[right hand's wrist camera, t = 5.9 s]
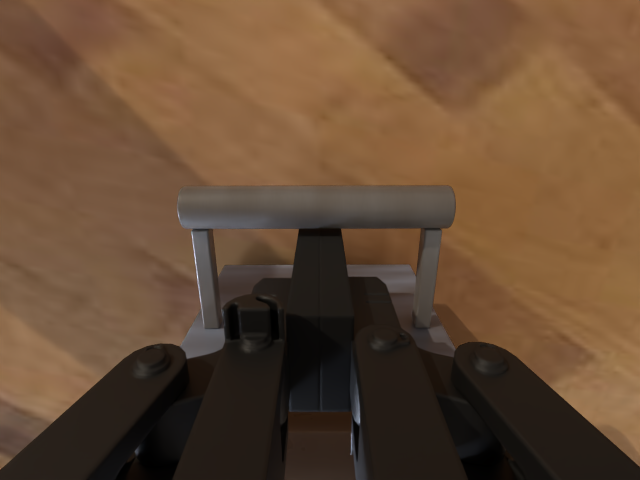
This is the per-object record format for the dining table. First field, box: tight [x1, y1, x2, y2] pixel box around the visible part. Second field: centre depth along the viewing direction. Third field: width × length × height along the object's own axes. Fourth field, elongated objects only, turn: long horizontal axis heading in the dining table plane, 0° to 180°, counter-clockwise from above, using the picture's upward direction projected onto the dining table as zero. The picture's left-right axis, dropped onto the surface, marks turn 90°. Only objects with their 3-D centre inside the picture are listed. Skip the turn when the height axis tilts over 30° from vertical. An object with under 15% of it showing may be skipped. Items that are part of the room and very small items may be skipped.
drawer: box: [177, 185, 456, 410], centre depth 18 cm, size 21×10×8 cm, turn 0°
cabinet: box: [284, 410, 356, 480], centre depth 20 cm, size 17×11×10 cm, turn 0°
